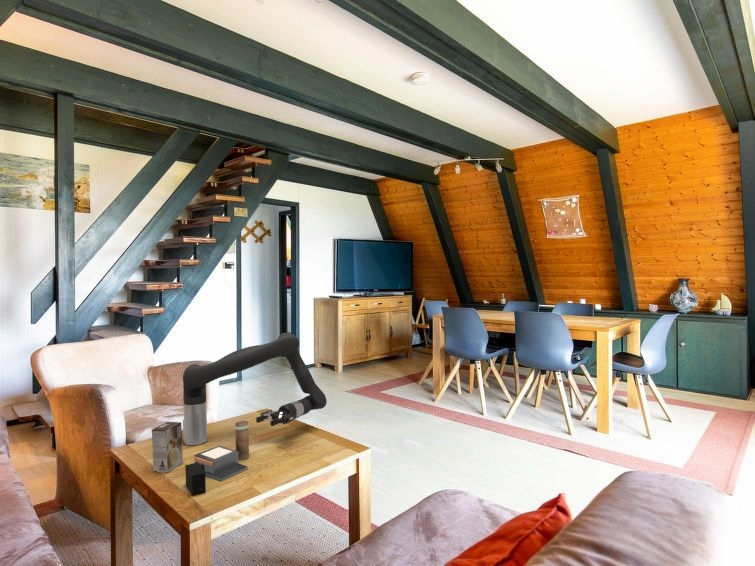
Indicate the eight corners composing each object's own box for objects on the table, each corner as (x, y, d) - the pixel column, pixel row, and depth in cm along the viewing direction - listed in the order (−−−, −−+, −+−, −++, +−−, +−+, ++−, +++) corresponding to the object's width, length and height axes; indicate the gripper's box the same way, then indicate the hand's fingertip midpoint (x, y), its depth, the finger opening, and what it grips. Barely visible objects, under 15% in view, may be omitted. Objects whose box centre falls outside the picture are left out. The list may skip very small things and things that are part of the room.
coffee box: (168, 461, 182) (167, 421, 181) (183, 463, 180) (182, 421, 180) (152, 472, 173) (151, 429, 172) (167, 473, 171) (166, 430, 171)
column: (232, 458, 184) (232, 423, 184) (243, 454, 188) (242, 419, 188) (241, 461, 181) (240, 425, 181) (252, 456, 185) (251, 422, 185)
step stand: (186, 468, 175) (186, 452, 175) (213, 457, 185) (213, 442, 185) (221, 481, 164) (220, 464, 164) (247, 469, 174) (247, 452, 174)
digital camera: (209, 492, 157) (209, 471, 157) (192, 496, 154) (192, 475, 154) (202, 480, 165) (201, 461, 165) (185, 484, 162) (185, 464, 162)
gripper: (279, 400, 211) (251, 410, 198) (303, 405, 203) (275, 415, 190) (280, 417, 211) (252, 428, 198) (303, 422, 203) (276, 434, 190)
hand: (263, 422), depth 194 cm, fingers open, 8 cm apart
